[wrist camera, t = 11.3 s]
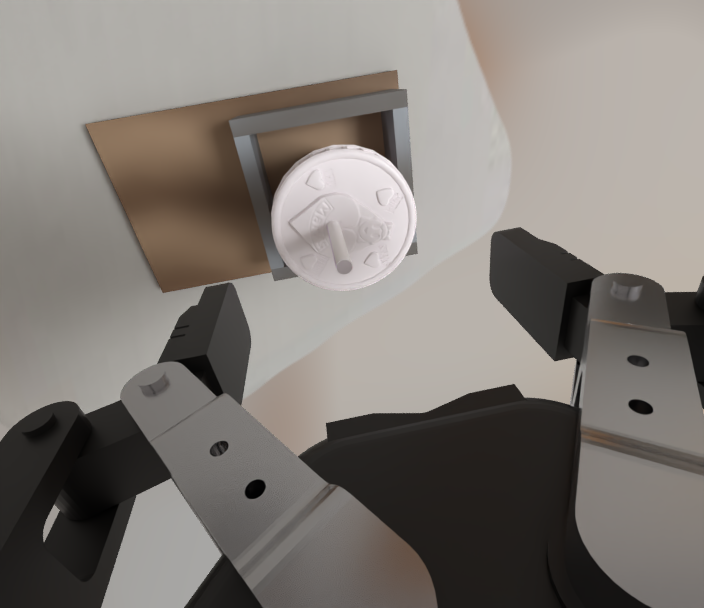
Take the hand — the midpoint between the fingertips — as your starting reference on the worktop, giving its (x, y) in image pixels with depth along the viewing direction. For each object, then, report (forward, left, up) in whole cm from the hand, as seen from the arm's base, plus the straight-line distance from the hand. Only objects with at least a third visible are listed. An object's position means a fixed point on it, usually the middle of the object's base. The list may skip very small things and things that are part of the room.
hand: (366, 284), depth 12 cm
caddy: (0, -4, -16) cm, 16 cm away
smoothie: (0, 0, -15) cm, 15 cm away
